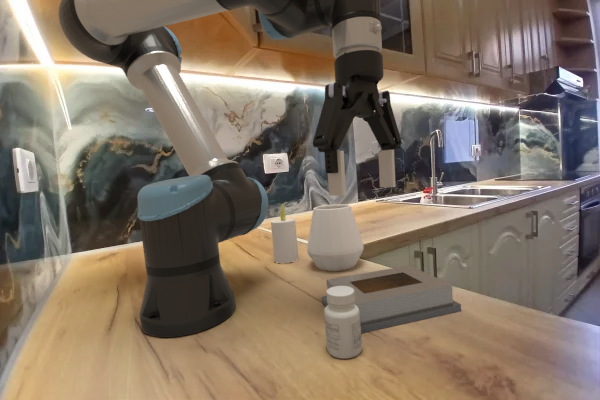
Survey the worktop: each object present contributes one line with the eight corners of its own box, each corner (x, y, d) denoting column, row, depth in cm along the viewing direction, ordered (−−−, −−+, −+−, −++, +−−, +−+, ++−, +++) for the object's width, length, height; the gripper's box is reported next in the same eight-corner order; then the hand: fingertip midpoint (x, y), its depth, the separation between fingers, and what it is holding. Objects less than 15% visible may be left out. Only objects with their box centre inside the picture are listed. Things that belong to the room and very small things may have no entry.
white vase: (325, 254, 85) (321, 203, 84) (373, 259, 77) (370, 202, 76) (297, 269, 74) (291, 210, 73) (349, 277, 66) (344, 211, 65)
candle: (288, 255, 87) (284, 201, 86) (303, 259, 82) (298, 202, 81) (269, 260, 83) (264, 204, 82) (283, 265, 78) (278, 205, 77)
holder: (350, 335, 43) (348, 307, 43) (321, 302, 55) (320, 279, 54) (461, 310, 48) (460, 284, 47) (413, 284, 59) (412, 263, 59)
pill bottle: (357, 338, 42) (354, 282, 42) (365, 358, 38) (361, 295, 37) (325, 341, 42) (320, 285, 41) (329, 361, 38) (324, 299, 37)
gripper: (320, 28, 39) (330, 200, 41) (419, 63, 55) (423, 184, 57) (281, 48, 44) (292, 199, 46) (381, 74, 61) (386, 184, 63)
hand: (364, 191), depth 52 cm, fingers open, 13 cm apart
